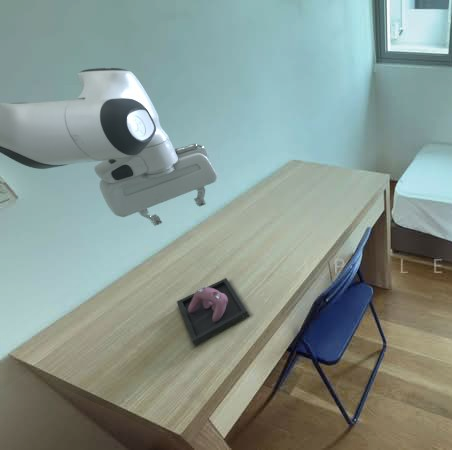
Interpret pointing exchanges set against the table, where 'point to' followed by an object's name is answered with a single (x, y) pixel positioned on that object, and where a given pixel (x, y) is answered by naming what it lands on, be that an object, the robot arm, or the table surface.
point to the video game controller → (209, 302)
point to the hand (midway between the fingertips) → (180, 214)
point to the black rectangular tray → (202, 318)
